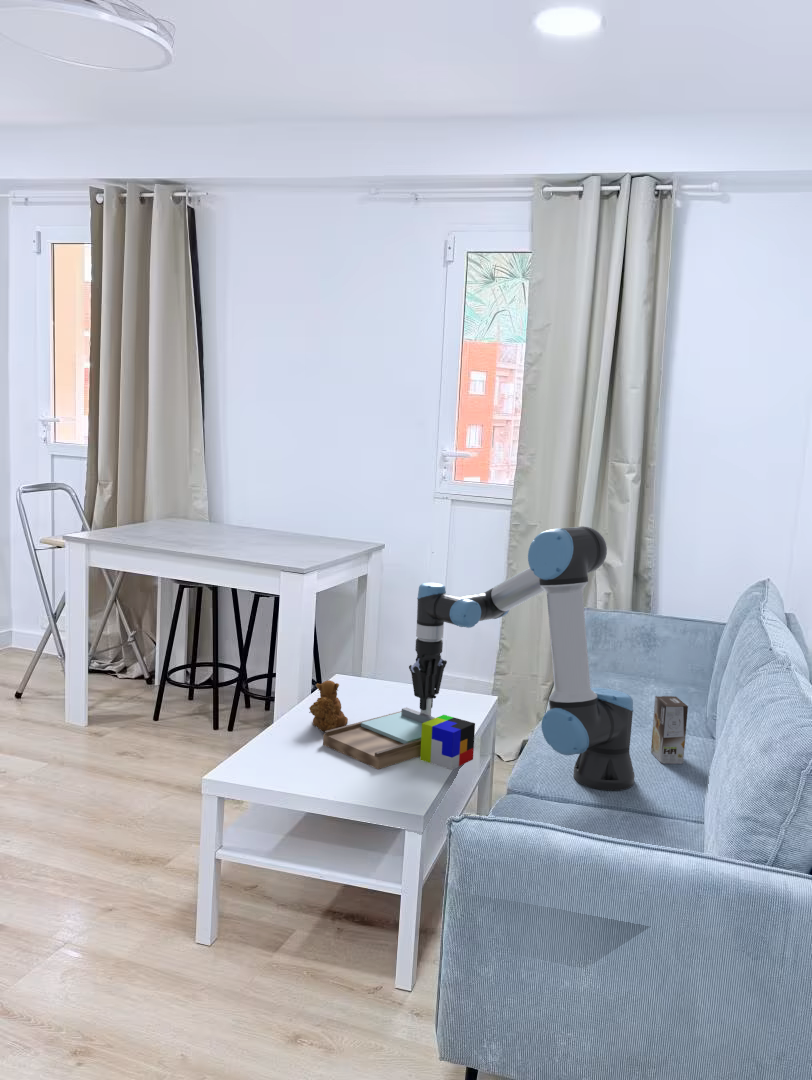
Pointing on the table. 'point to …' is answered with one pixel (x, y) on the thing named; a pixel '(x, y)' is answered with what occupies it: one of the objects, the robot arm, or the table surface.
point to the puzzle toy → (447, 741)
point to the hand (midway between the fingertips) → (425, 720)
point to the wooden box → (370, 745)
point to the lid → (399, 725)
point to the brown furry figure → (328, 708)
